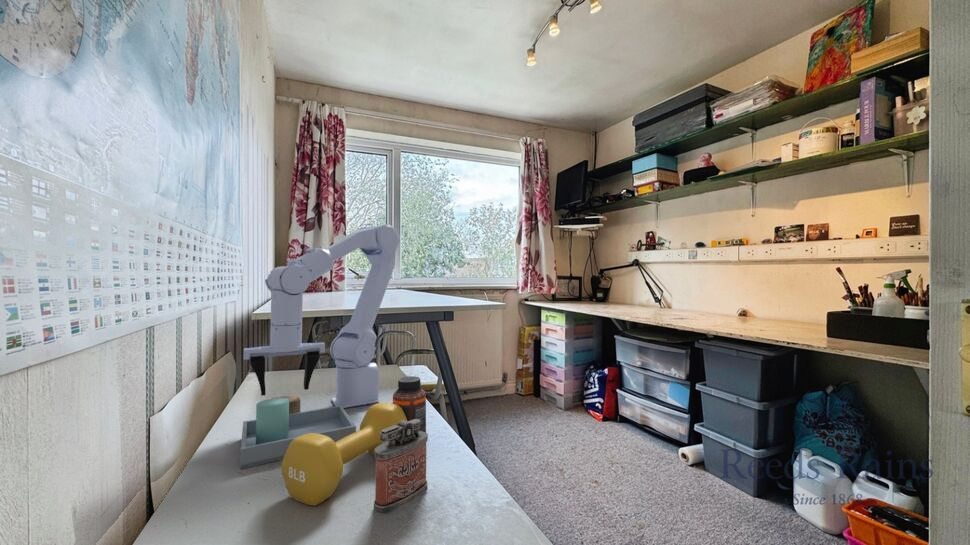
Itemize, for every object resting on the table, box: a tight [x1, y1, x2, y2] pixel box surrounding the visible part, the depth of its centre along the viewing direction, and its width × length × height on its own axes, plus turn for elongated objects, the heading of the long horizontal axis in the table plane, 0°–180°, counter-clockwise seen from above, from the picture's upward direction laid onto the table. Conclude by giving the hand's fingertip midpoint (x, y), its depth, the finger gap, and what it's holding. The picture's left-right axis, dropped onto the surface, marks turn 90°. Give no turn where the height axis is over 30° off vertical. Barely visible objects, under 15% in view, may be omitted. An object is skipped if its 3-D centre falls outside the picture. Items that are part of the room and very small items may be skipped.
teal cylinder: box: [255, 397, 289, 445], centre depth 65 cm, size 5×5×7 cm
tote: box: [240, 405, 357, 470], centre depth 67 cm, size 17×13×3 cm
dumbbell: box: [280, 401, 408, 507], centre depth 56 cm, size 19×9×8 cm, turn 154°
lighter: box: [373, 419, 429, 515], centre depth 49 cm, size 8×3×10 cm, turn 141°
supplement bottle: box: [392, 375, 427, 433], centre depth 67 cm, size 6×6×11 cm
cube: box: [270, 393, 301, 414], centre depth 75 cm, size 5×5×5 cm
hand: (285, 391), depth 75 cm, fingers open, 7 cm apart
